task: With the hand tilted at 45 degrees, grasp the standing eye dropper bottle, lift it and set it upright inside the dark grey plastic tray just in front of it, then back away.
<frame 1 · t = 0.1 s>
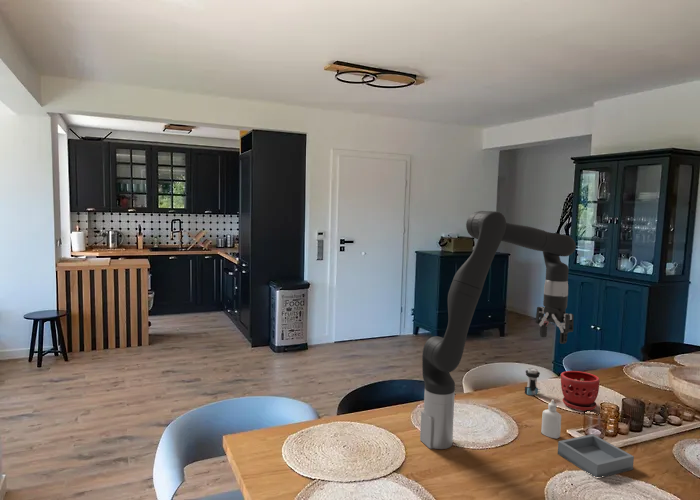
hand: (552, 340, 163), 29 cm above the table, tool pointing down, fingers open, 8 cm apart
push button: (532, 394, 190), on the table
plant pot: (578, 406, 179), on the table
eye dropper bottle: (550, 436, 155), on the table
tray: (594, 461, 139), on the table
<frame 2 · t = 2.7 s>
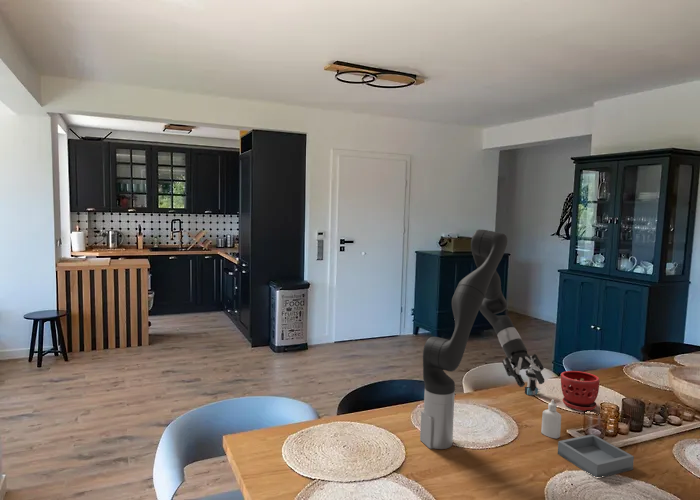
hand: (532, 384, 162), 14 cm above the table, tool tilted 45°, fingers open, 8 cm apart
nothing on the table moved.
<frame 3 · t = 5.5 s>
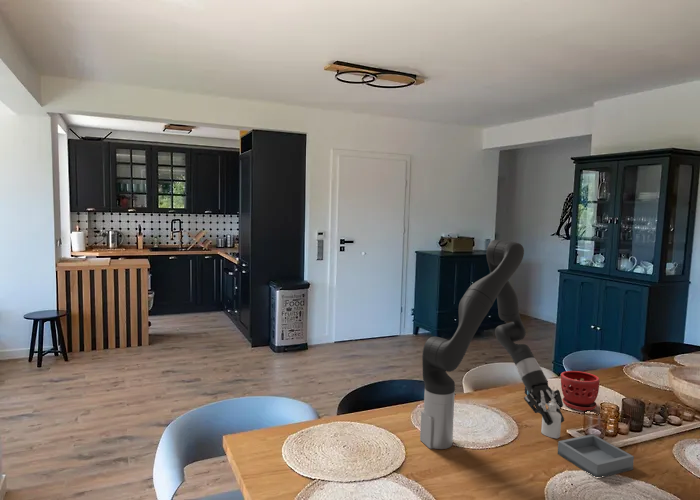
hand: (556, 422, 153), 5 cm above the table, tool tilted 45°, fingers closed on eye dropper bottle, 4 cm apart
eye dropper bottle: (550, 435, 155), on the table, touching gripper
everything else where it was.
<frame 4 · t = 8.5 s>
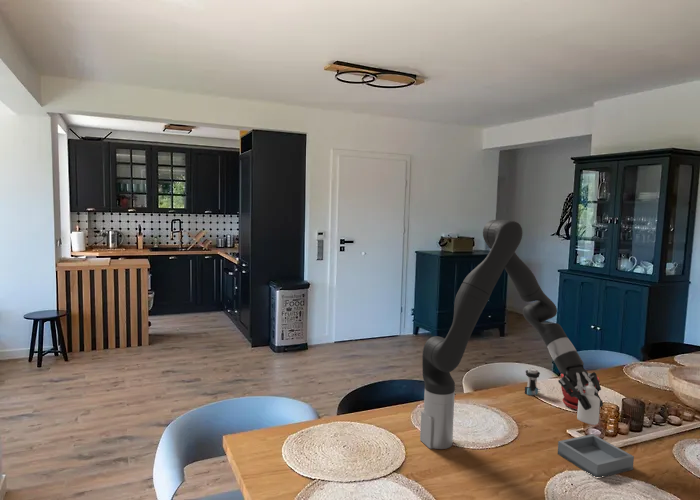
hand: (594, 407, 139), 16 cm above the table, tool tilted 45°, fingers closed on eye dropper bottle, 4 cm apart
eye dropper bottle: (587, 422, 142), point 11 cm above the table, touching gripper
everything else where it was.
when the fingers open (7 cm above the table, at t = 11.2 s): eye dropper bottle drops 1 cm, resting on tray.
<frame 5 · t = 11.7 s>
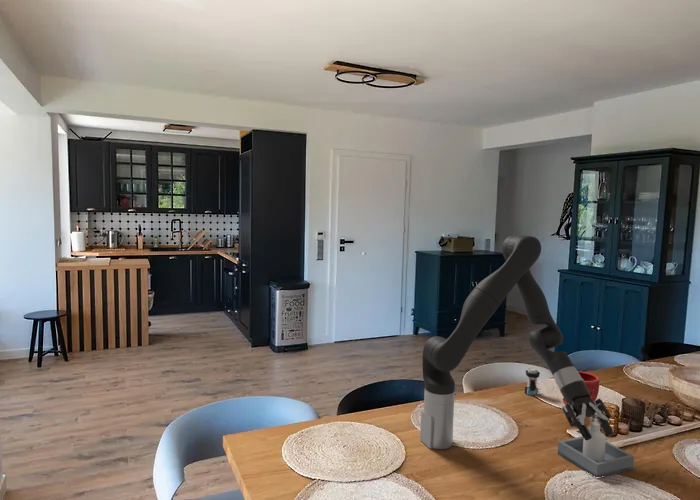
hand: (600, 437, 137), 8 cm above the table, tool tilted 45°, fingers open, 8 cm apart
eye dropper bottle: (593, 458, 139), point 1 cm above the table, touching tray
everything else where it was.
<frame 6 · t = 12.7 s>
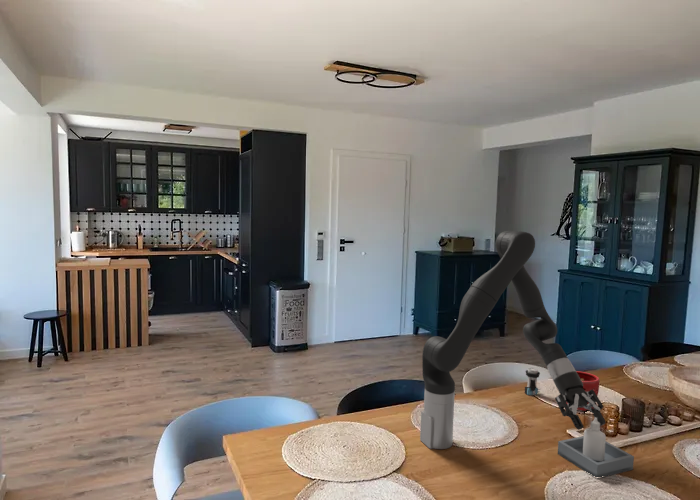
hand: (592, 426, 140), 10 cm above the table, tool tilted 45°, fingers open, 8 cm apart
nothing on the table moved.
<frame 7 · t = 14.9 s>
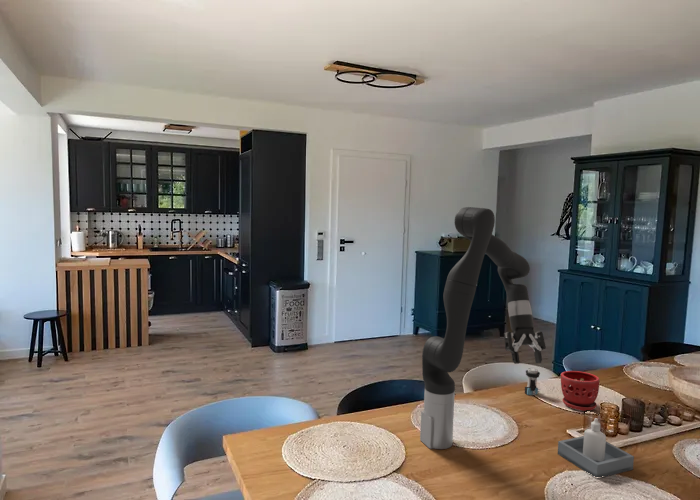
hand: (527, 363, 158), 22 cm above the table, tool tilted 20°, fingers open, 8 cm apart
nothing on the table moved.
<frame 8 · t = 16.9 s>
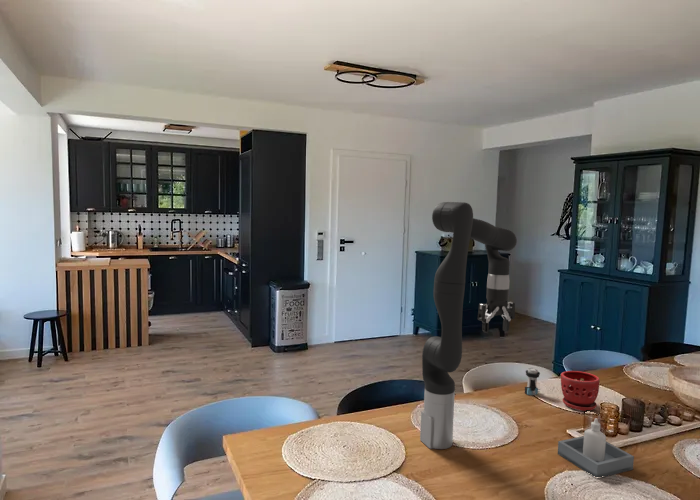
hand: (495, 331, 168), 30 cm above the table, tool pointing down, fingers open, 8 cm apart
nothing on the table moved.
at the end: eye dropper bottle inside the target area on the tray (0.3 cm from its centre), point 0.8 cm above the tray's base; eye dropper bottle tilted 0°; the gripper is holding nothing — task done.
